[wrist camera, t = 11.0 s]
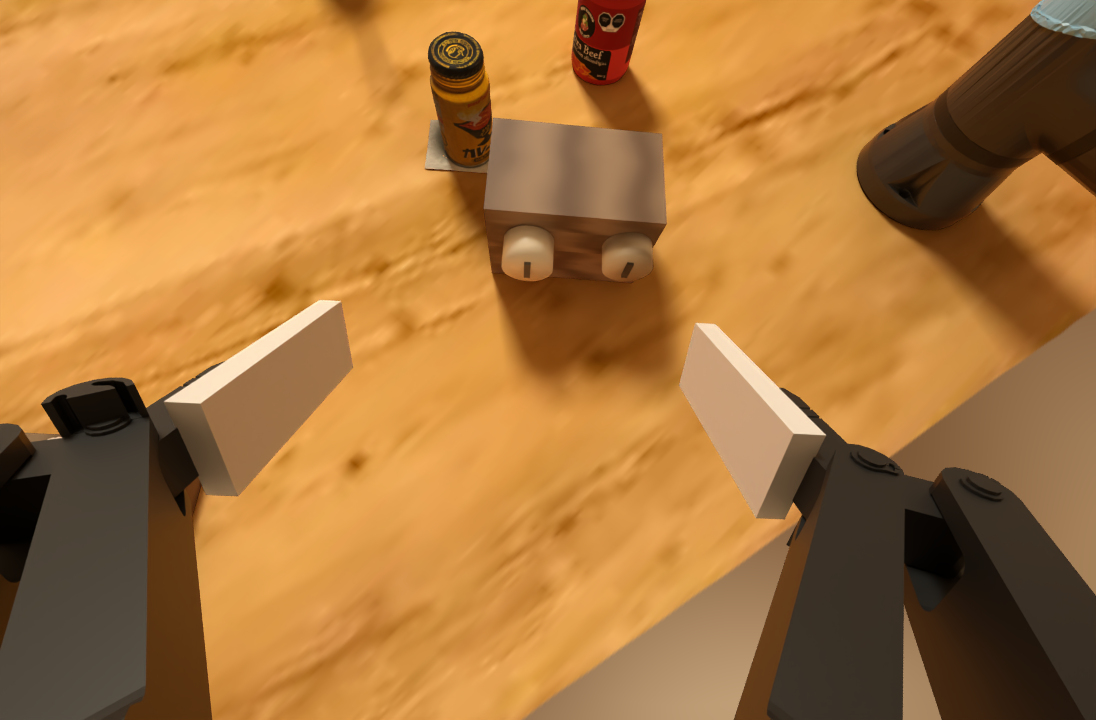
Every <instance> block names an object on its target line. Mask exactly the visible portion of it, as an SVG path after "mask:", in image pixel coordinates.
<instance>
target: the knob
mask: <svg viewBox="0 0 1096 720" xmlns="http://www.w3.org/2000/svg"><path fill="white" fill-rule="evenodd" d="M553 254H554V239H553V237H552V235H551V234H550V233H549V232H548V231H546V230H544V229H542V228H539V227H536V226H528V225H524V226H517V227H514V228H512V229H510V230H508V231H507V232H506V233H505V235H504V243H503V254H502V270H503V271H504V273H505V274H507V275H508V276H510V277H512V278H515V279H518V280H523V281H538V280H542V279H545V278H547V277H549V276H550V275H551V274H552V272H553Z"/></svg>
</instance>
